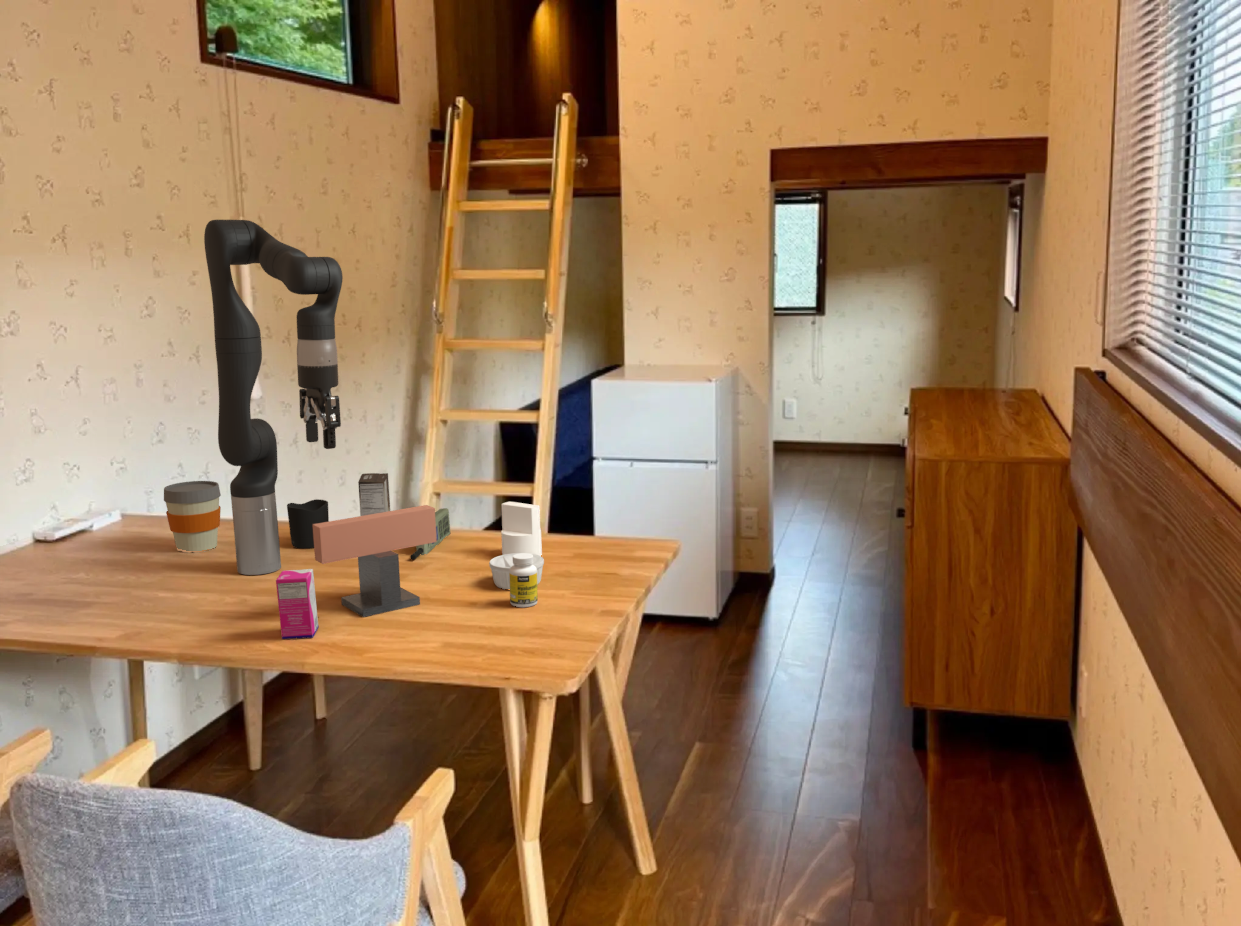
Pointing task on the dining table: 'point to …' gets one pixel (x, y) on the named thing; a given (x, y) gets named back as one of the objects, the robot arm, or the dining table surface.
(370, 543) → the batten
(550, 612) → the dining table surface
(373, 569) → the stand
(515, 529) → the cylinder with rectangular tab
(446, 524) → the handheld radio
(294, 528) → the pen holder
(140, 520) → the dining table surface
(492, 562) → the ramekin
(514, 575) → the supplement bottle
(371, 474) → the coffee box
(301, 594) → the supplement box
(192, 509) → the reusable coffee cup
